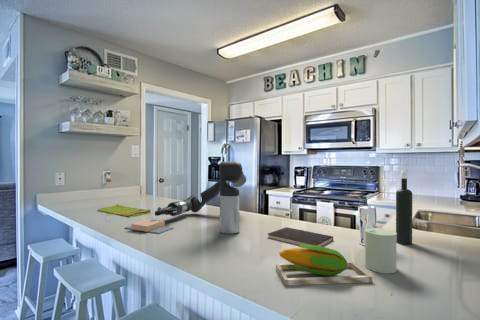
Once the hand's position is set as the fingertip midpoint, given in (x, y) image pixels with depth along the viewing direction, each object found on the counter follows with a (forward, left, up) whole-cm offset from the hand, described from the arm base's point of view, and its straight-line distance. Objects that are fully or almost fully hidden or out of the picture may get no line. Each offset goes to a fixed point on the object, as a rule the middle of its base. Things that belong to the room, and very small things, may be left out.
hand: (155, 213), depth 136 cm
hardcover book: (-67, +26, -7) cm, 72 cm away
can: (-83, +58, -7) cm, 102 cm away
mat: (+2, +4, -6) cm, 8 cm away
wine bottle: (-108, +35, -7) cm, 114 cm away
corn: (-59, +61, -6) cm, 85 cm away
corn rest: (-62, +62, -6) cm, 88 cm away
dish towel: (+29, -39, -7) cm, 50 cm away
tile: (0, -1, -5) cm, 5 cm away
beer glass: (-92, +35, -7) cm, 99 cm away
